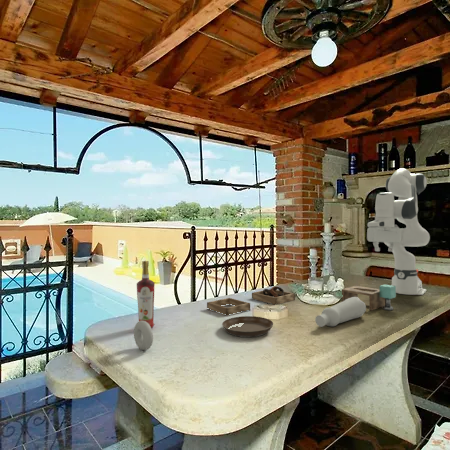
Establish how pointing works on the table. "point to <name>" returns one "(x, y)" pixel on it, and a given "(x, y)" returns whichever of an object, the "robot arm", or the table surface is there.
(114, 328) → the table surface
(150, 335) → the donut
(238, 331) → the plant saucer
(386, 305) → the teal stemmed block
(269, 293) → the pottery mug
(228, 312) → the tray
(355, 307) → the bottle
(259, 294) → the tray
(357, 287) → the tan hollow wooden block
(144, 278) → the liquor
